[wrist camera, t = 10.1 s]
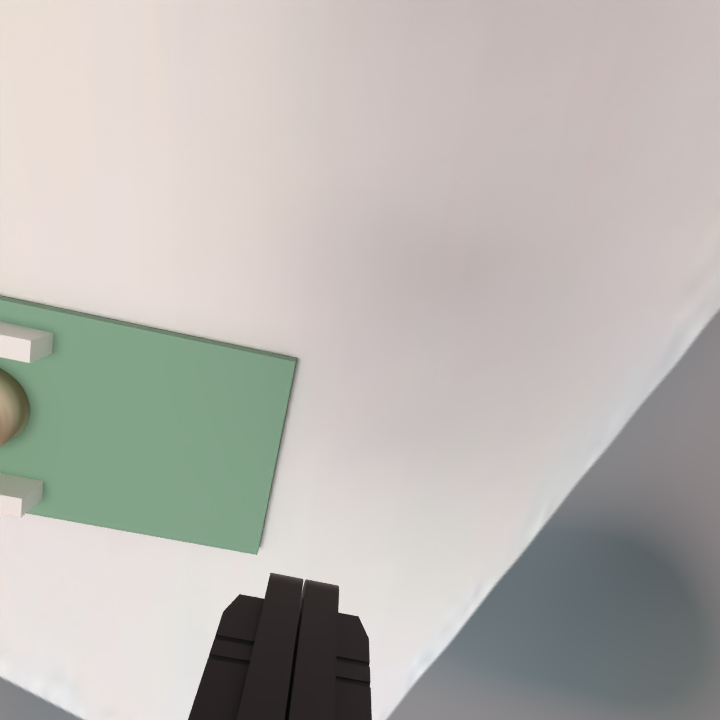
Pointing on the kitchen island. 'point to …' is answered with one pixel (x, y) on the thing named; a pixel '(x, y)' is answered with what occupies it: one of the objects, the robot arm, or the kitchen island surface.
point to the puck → (12, 407)
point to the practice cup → (27, 346)
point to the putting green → (148, 428)
